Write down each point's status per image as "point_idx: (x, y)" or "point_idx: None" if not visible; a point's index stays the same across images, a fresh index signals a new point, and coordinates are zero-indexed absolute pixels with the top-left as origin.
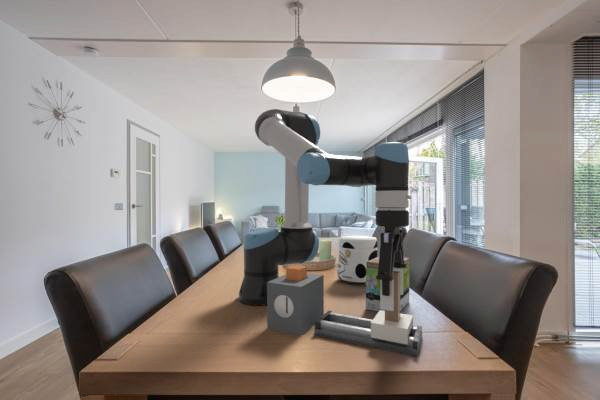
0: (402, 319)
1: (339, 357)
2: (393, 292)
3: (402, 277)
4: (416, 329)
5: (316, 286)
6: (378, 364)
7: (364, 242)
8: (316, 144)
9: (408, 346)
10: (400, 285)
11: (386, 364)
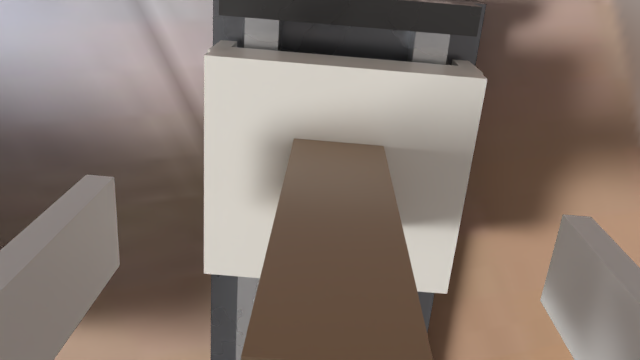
0: (320, 122)
1: None
2: (634, 295)
3: (32, 260)
4: (288, 19)
5: None
6: (602, 172)
7: None
8: None
9: (457, 54)
10: (79, 234)
11: (594, 139)
